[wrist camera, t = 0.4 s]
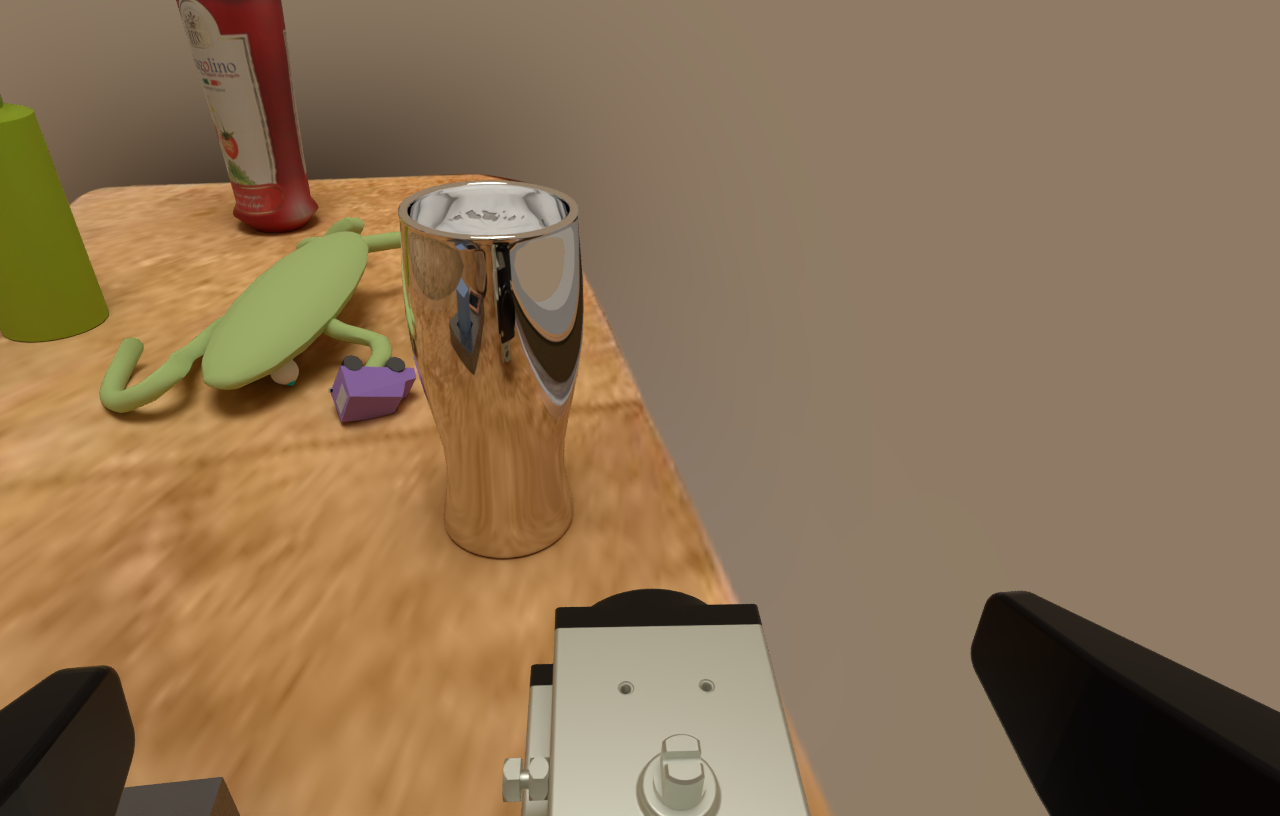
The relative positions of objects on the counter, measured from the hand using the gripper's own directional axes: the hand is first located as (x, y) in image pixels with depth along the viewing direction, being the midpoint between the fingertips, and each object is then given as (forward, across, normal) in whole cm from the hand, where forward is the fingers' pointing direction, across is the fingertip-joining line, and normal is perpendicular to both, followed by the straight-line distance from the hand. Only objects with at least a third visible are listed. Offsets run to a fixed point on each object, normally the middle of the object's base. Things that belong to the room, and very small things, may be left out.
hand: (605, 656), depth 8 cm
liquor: (+66, +18, +10) cm, 69 cm away
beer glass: (+25, 0, +14) cm, 29 cm away
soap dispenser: (+48, +29, +13) cm, 58 cm away
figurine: (+45, +9, +13) cm, 48 cm away
